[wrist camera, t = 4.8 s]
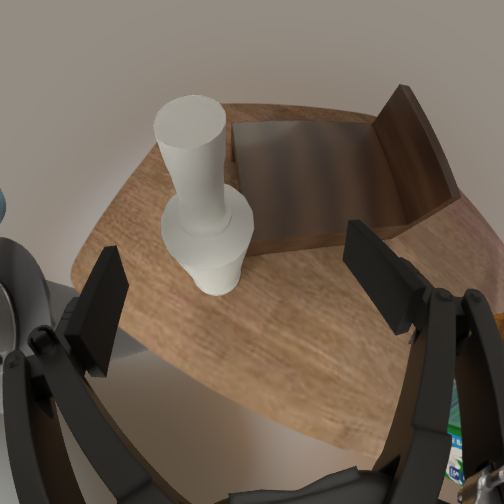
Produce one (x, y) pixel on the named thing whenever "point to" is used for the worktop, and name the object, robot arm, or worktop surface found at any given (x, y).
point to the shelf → (340, 176)
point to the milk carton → (455, 442)
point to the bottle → (202, 195)
